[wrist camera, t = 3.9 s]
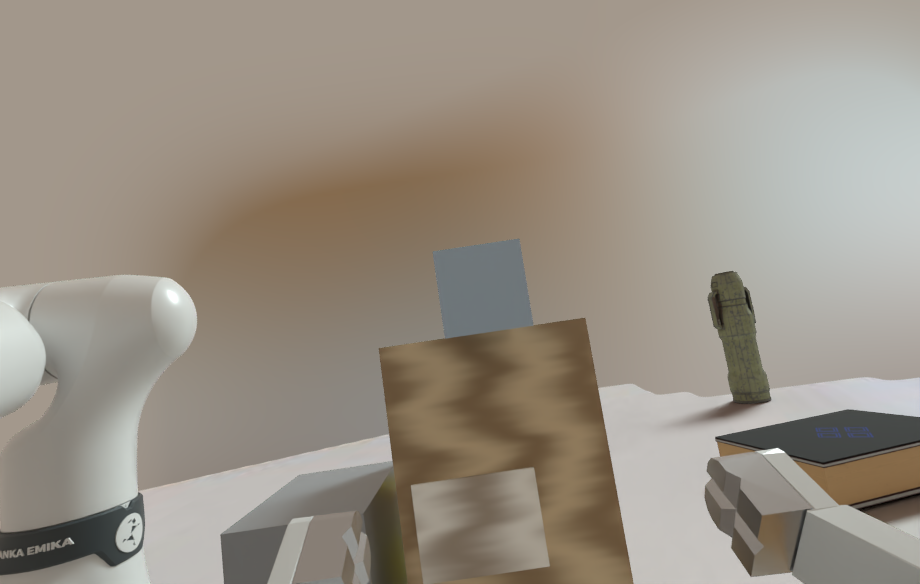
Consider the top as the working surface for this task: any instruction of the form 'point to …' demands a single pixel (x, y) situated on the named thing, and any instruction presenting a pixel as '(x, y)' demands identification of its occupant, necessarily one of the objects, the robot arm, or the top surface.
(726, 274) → the olive piece
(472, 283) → the light blue bar
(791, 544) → the robot arm
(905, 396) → the top surface
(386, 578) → the grey rectangular block
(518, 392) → the carton
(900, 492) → the book
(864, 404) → the top surface
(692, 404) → the top surface
